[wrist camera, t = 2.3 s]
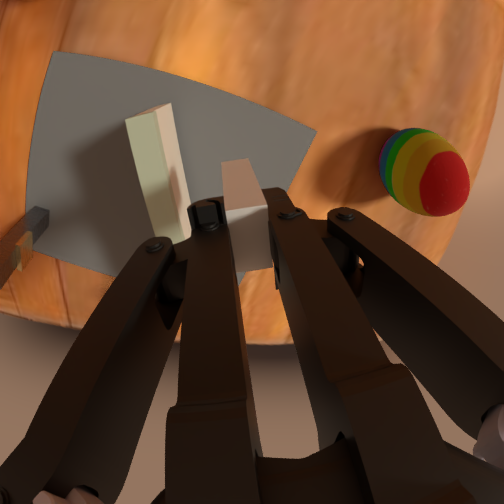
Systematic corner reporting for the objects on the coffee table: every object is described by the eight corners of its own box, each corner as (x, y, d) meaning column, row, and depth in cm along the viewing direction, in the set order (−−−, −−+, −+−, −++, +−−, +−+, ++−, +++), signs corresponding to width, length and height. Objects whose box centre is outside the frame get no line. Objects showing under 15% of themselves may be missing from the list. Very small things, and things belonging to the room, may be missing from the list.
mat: (27, 246, 26) (26, 247, 26) (55, 51, 16) (53, 51, 16) (227, 305, 35) (227, 307, 34) (316, 131, 24) (317, 131, 24)
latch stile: (36, 223, 25) (-15, 285, 16) (36, 201, 24) (-20, 260, 15) (54, 229, 26) (6, 295, 17) (55, 207, 25) (1, 269, 16)
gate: (204, 251, 29) (204, 317, 22) (189, 253, 29) (184, 319, 22) (174, 101, 21) (152, 112, 13) (156, 105, 21) (124, 119, 13)
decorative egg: (436, 162, 27) (496, 198, 19) (391, 206, 30) (443, 255, 22) (406, 106, 24) (475, 129, 15) (353, 155, 26) (412, 195, 18)
